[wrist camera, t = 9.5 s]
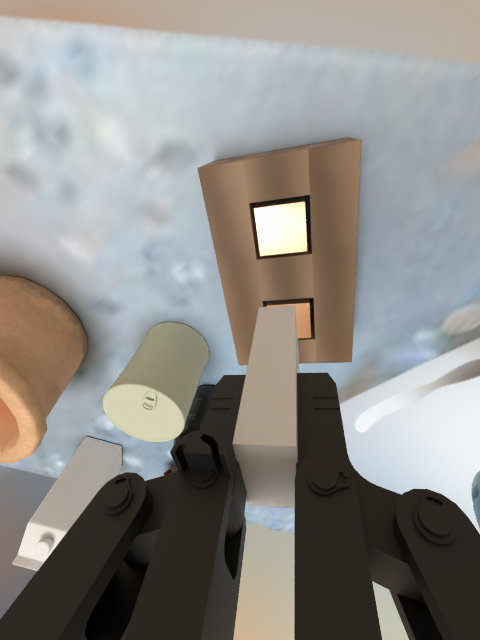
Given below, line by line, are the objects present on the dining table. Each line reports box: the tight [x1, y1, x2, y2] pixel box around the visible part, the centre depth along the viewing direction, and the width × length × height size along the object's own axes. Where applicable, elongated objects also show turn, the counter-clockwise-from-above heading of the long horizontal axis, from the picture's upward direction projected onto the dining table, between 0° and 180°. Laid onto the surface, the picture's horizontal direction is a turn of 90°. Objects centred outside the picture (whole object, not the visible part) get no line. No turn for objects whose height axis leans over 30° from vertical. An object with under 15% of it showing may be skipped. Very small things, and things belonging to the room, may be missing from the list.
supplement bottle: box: [172, 385, 215, 472], centre depth 41 cm, size 7×7×12 cm
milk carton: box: [13, 437, 122, 571], centre depth 51 cm, size 7×7×19 cm
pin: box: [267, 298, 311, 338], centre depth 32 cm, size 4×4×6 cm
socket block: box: [198, 138, 361, 365], centre depth 30 cm, size 12×20×6 cm, turn 9°
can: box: [103, 322, 210, 442], centre depth 37 cm, size 9×9×12 cm
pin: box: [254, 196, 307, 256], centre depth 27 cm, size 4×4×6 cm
